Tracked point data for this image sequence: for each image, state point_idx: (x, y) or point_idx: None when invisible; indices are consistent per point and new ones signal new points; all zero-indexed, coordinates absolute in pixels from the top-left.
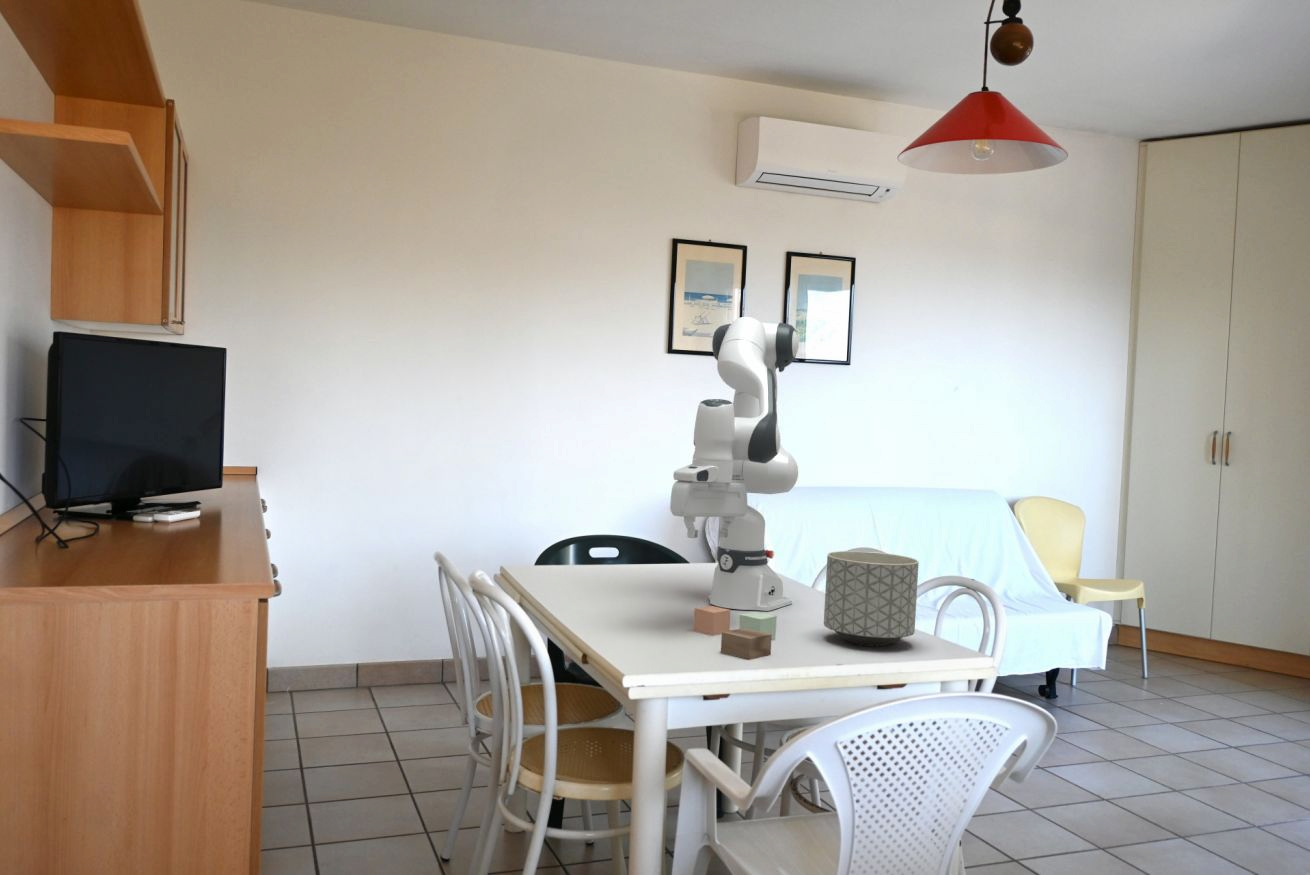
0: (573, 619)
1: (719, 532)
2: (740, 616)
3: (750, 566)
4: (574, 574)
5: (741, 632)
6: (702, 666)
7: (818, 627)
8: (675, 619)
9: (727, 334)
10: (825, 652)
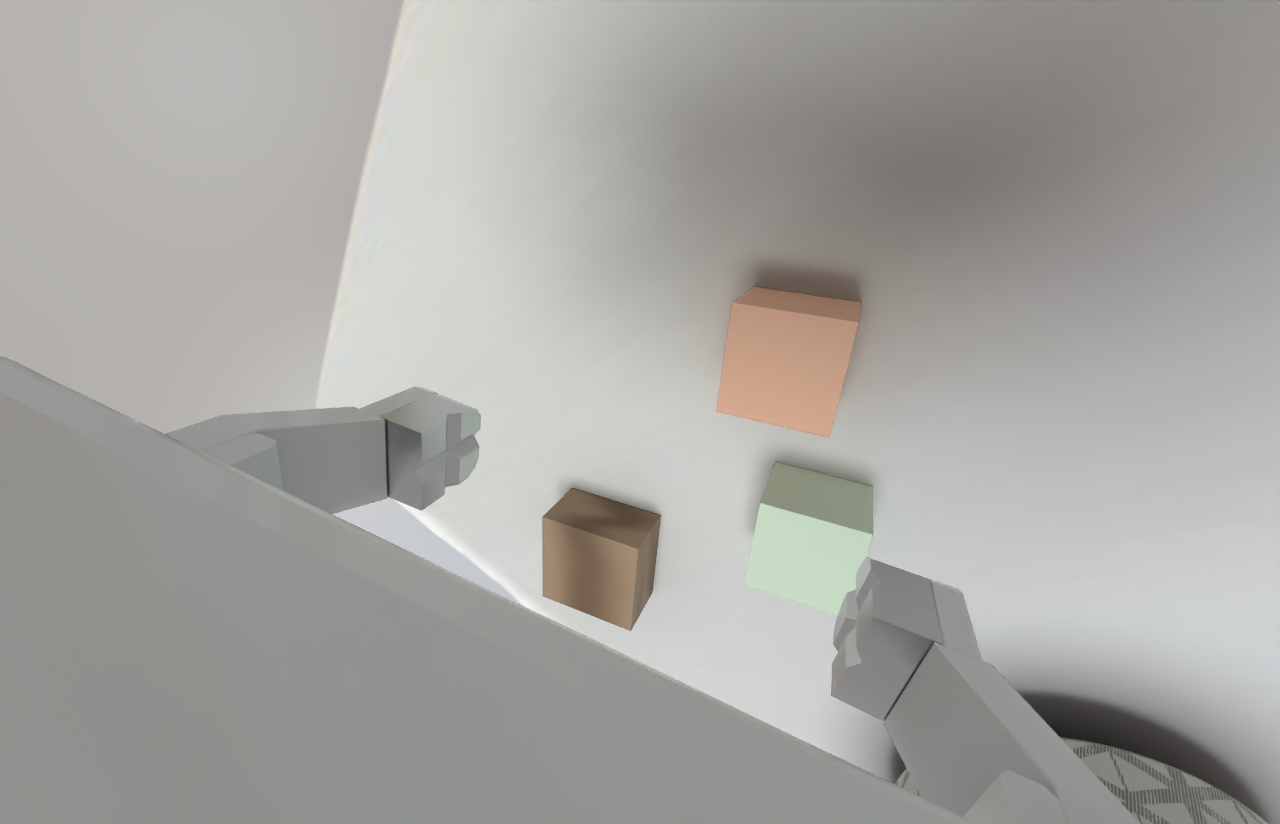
0: None
1: (871, 590)
2: (761, 502)
3: None
4: None
5: (581, 560)
6: (452, 501)
7: (1274, 662)
8: (932, 58)
9: None
10: (789, 701)
